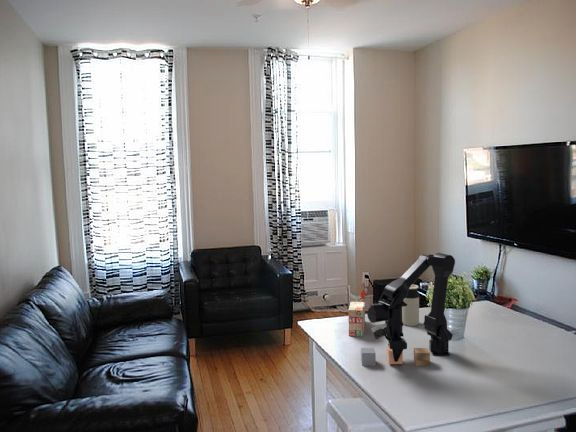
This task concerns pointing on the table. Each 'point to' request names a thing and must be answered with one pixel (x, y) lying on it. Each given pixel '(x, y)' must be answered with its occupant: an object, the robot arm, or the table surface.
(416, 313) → the travel mug
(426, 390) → the table surface
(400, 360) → the terracotta cube
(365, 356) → the grey cube
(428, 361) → the walnut cube
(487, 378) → the table surface
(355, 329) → the stack of blocks
